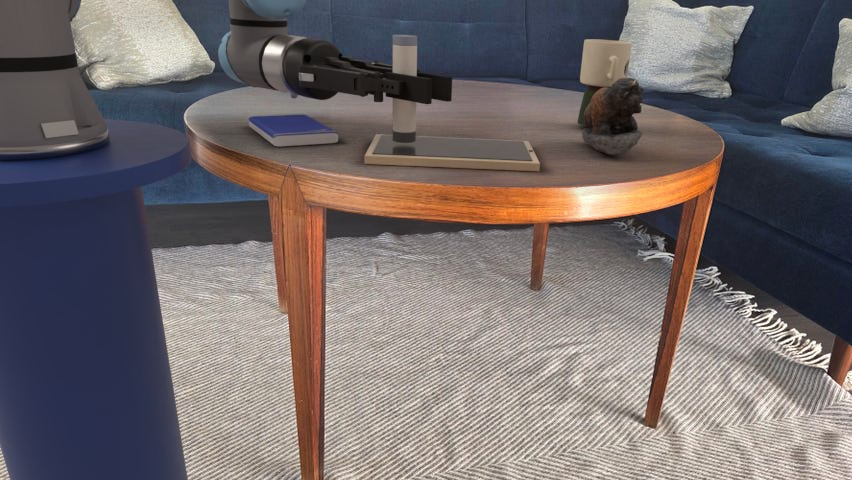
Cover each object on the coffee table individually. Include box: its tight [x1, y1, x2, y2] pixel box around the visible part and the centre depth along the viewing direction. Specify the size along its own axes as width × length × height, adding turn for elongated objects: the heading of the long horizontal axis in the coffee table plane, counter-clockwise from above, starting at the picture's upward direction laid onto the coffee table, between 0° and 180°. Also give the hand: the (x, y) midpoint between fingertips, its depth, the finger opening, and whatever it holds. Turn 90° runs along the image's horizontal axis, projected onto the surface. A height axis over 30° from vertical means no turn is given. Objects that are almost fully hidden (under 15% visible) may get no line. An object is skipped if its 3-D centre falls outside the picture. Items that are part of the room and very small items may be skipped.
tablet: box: [364, 133, 541, 172], centre depth 79 cm, size 20×12×1 cm, turn 92°
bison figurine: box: [581, 77, 644, 156], centre depth 84 cm, size 12×7×10 cm, turn 7°
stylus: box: [392, 34, 418, 143], centre depth 76 cm, size 3×3×12 cm
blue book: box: [248, 114, 339, 147], centre depth 84 cm, size 2×8×12 cm
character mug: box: [576, 38, 633, 126], centre depth 99 cm, size 11×7×13 cm, turn 5°
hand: (439, 90), depth 72 cm, fingers closed on stylus, 3 cm apart
